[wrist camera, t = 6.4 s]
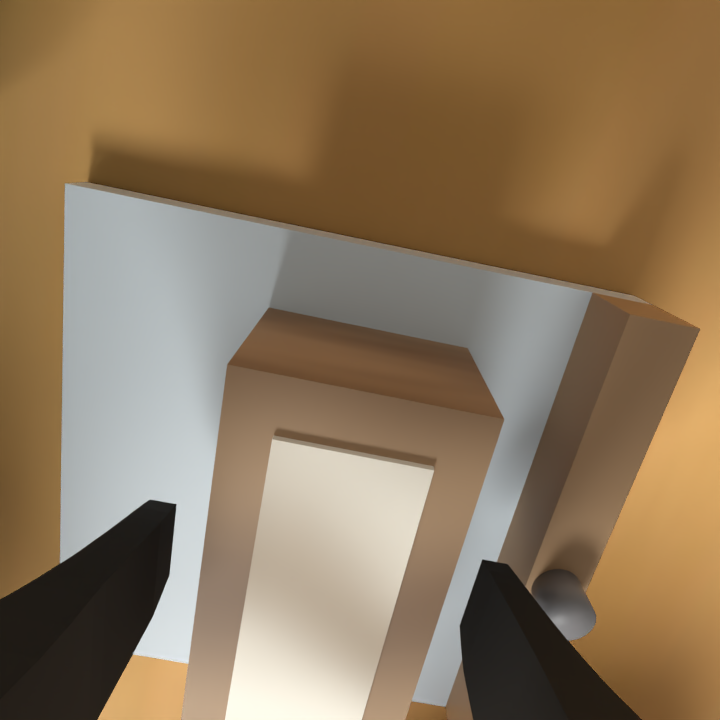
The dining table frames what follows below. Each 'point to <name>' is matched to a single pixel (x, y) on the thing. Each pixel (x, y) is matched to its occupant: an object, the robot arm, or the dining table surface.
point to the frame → (333, 519)
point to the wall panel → (367, 309)
